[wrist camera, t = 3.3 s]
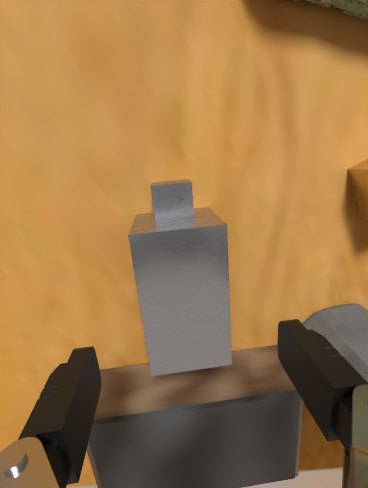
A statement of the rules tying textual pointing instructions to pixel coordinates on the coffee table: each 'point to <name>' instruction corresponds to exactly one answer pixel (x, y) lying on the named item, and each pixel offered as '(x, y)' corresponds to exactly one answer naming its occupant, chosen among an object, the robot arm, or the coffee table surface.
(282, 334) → the robot arm
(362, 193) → the brass block
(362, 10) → the washcloth
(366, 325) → the coffeepot
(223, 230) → the block
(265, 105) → the coffee table surface
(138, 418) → the stand
